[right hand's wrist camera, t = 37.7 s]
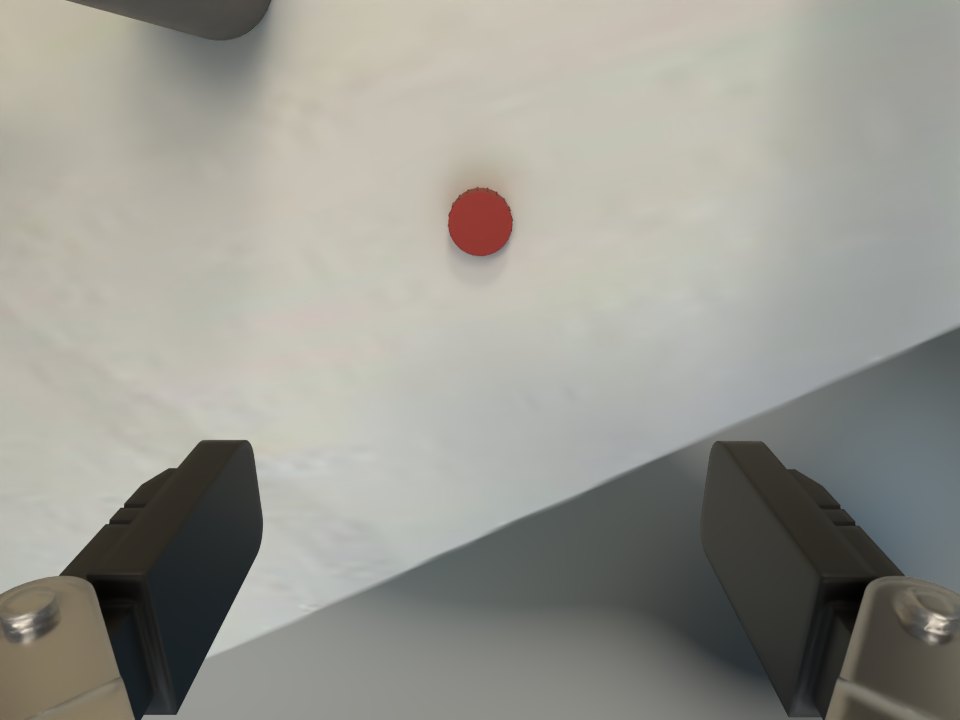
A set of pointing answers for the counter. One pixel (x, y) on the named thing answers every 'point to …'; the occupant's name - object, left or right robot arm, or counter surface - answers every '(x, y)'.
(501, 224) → the cap
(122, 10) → the bottle
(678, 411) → the counter surface
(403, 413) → the counter surface
